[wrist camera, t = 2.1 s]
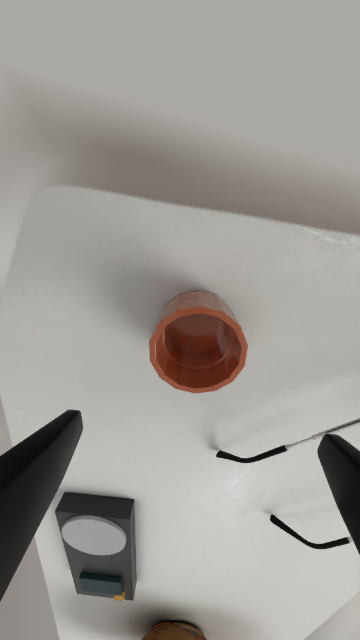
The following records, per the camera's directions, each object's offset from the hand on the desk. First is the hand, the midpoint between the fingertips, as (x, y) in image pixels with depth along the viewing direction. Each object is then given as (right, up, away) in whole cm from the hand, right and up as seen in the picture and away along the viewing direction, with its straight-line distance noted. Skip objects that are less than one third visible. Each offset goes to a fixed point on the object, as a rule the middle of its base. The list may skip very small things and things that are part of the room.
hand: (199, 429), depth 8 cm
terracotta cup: (+1, +4, +9) cm, 10 cm away
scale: (-12, -29, +22) cm, 38 cm away
